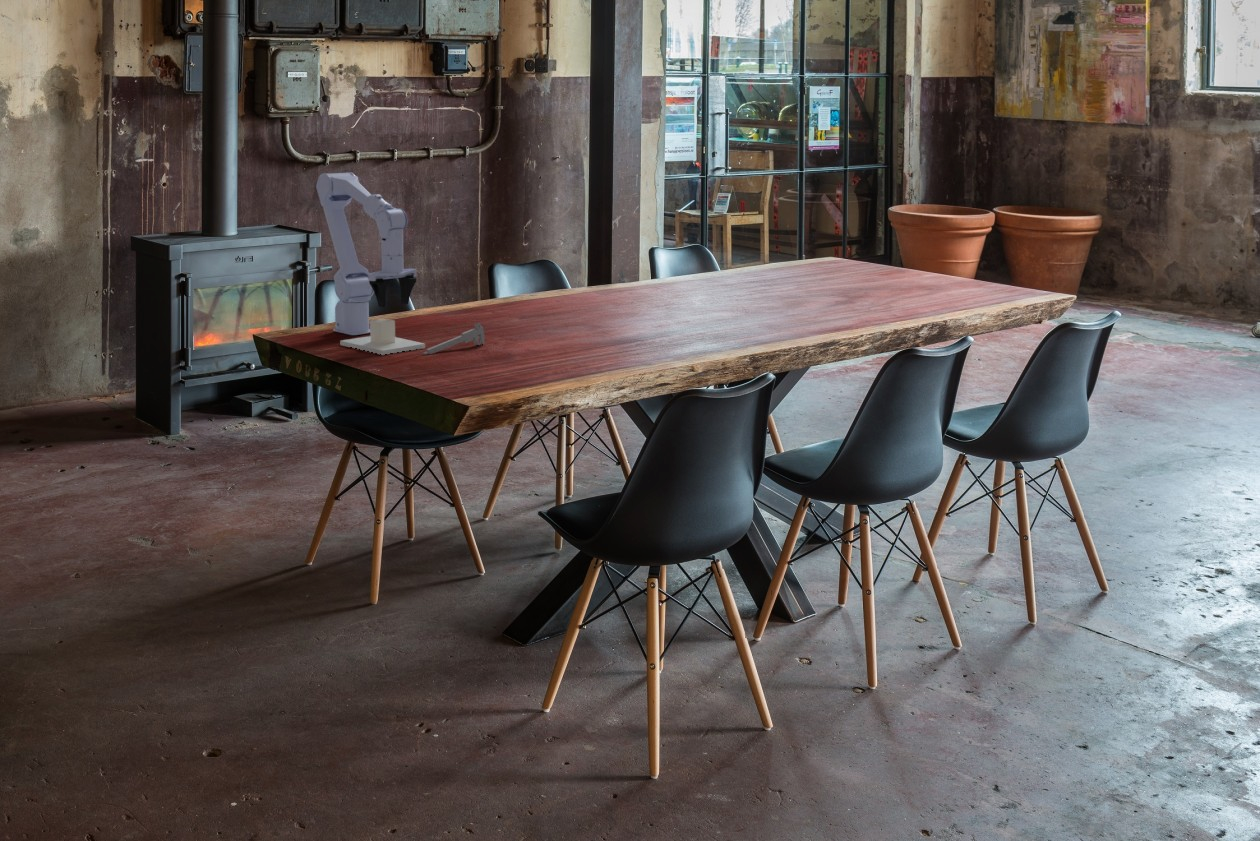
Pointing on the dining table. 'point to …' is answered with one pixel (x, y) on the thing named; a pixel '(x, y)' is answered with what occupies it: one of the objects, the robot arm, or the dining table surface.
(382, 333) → the cream rectangular prism
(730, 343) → the dining table surface
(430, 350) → the caliper
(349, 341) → the light gray slab
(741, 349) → the dining table surface
